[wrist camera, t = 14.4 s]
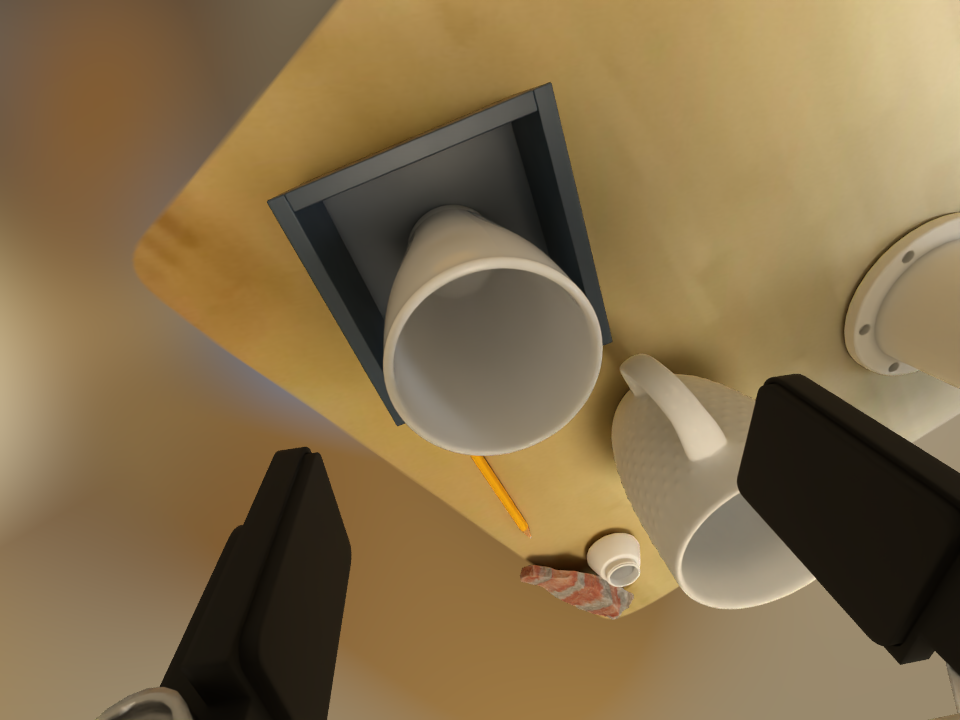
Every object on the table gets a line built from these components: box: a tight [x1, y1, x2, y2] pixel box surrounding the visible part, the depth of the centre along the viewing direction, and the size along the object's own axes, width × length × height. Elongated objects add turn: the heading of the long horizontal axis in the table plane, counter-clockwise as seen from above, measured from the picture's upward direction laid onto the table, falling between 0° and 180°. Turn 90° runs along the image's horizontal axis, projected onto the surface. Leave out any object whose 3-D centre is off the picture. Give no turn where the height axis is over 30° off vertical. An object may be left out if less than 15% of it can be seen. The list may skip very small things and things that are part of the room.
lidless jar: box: [587, 533, 640, 587], centre depth 41 cm, size 5×3×5 cm
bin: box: [267, 82, 612, 426], centre depth 24 cm, size 13×13×7 cm
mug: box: [611, 354, 816, 609], centre depth 28 cm, size 15×11×13 cm
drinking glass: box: [383, 205, 603, 456], centre depth 20 cm, size 7×7×15 cm
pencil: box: [470, 455, 531, 538], centre depth 36 cm, size 1×13×1 cm, turn 27°
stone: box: [520, 565, 634, 619], centre depth 42 cm, size 12×2×5 cm
